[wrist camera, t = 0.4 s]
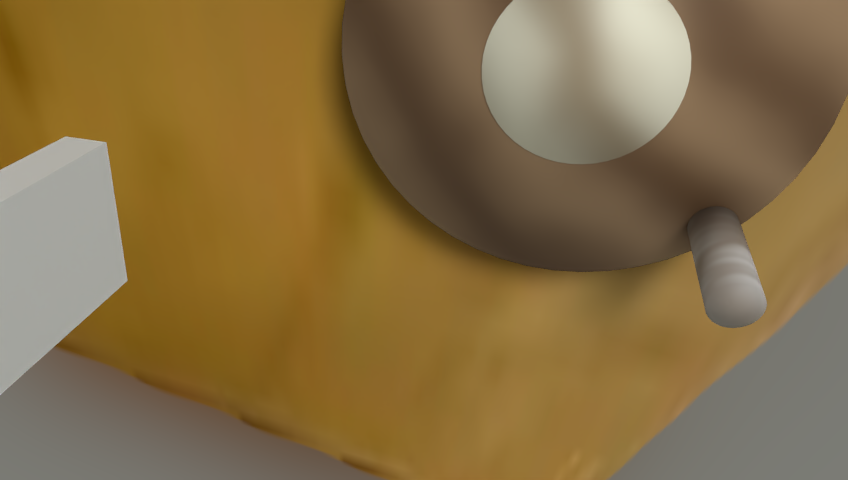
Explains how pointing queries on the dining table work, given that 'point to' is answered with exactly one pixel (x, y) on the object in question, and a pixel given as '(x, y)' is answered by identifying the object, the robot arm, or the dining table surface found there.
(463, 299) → the dining table surface
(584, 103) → the brown wide round piece
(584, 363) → the dining table surface
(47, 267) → the robot arm
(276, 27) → the dining table surface
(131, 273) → the dining table surface
